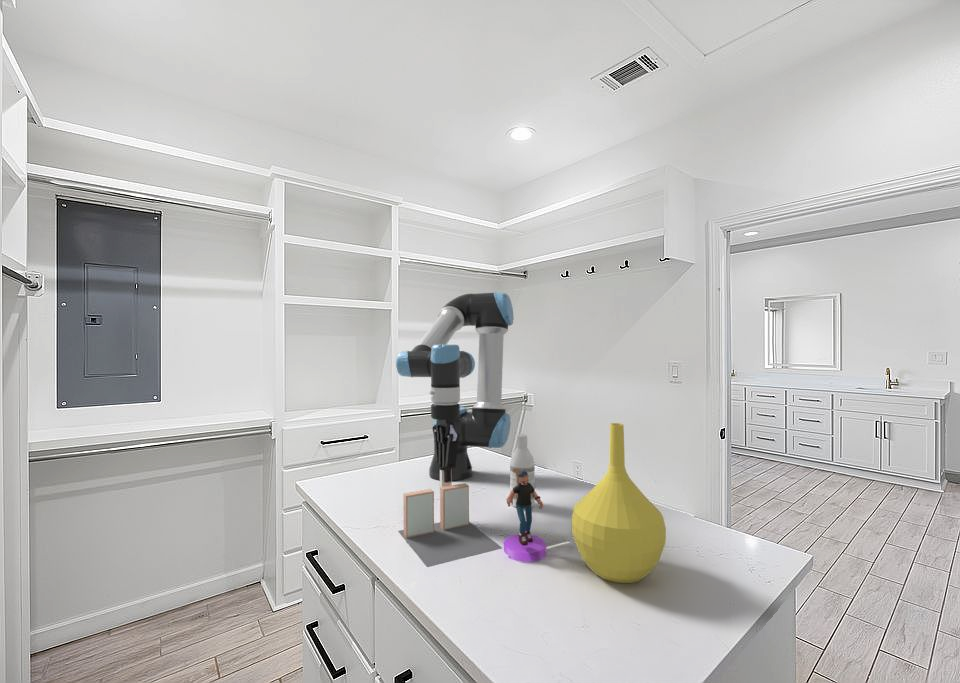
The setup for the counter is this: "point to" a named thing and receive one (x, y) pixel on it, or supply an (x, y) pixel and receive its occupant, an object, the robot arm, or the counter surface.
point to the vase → (618, 523)
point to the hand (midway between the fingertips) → (445, 493)
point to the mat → (450, 544)
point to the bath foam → (522, 466)
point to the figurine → (524, 525)
